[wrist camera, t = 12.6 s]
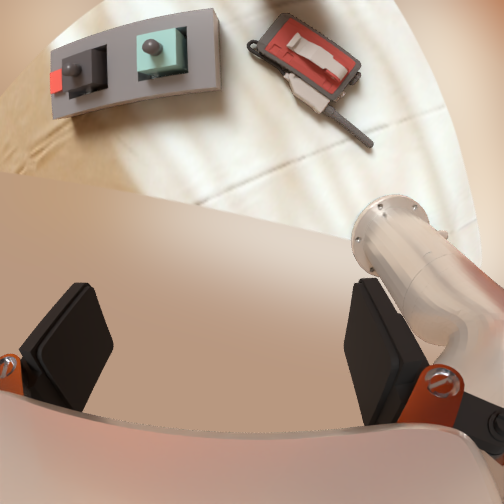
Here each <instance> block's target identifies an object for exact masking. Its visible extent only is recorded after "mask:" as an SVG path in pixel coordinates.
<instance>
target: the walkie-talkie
mask: <svg viewBox="0 0 504 504" xmlns="http://www.w3.org/2000/svg"><path fill="white" fill-rule="evenodd" d="M253 43H255V44H257V50H258V52H256V51H255V50H253V49H252V48H251V47H250V45H251V44H253ZM247 48H248V50H249V51H250V52H251V53H253V54H255V55H257V56H258V57H260V58H262V59H263V60H265V61H267V62H268V63H270V64H271V65H273V66H274V67H276V68H277V69H279V71H280V72H281V74H282V75H283V76H284V77H283V78H285V79H286V80H288V82H289V85H290V87H291V90H292V93H293V95H294V96H296V97H297V98H299V99H300V100H301V101H303V102H304V103H306V104H307V105H308V106H310V107H311V108H312V109H313V111H315V112H316V113H318V114H320V113H321V112H323V113H324V114H326V115H327V116H328V117H331V118H333V119H334V120H335V121H336V122H338V123H339V124H340V125H342V126H343V127H344V128H345V129H347V130H348V131H349V132H350V133H351V134H353V135H354V136H355V137H356V138H358V139H359V140H360V141H361V142H362V143H364V144H365V145H366V146H367V147H369V148H371V147H373V141H372V140H370V139H369V138H368V137H367V136H366V135H365V134H363V133H362V132H361V131H360V130H359V129H357V128H356V127H355V126H354V125H353V124H351V123H350V122H349V121H348V120H346V119H345V118H344V117H343V116H341V115H340V114H339V113H337V112H336V111H335V109H334V108H333V107H332V106H330V105H329V104H328V103H329V101H331V100H332V101H335V102H337V101H338V100H339V99H340V98H339V97H338V96H340V97H341V98H342V97H343V96H344V95H345V92H344V88H345V87H346V86H347V84H348V83H349V84H350V85H354V84H355V83H356V82H357V81H358V80H359V78H360V77H361V73H360V72H357V71H358V70H359V69H360V67H361V63H360V61H358V60H357V59H356V58H354V57H353V56H352V55H351V54H349V53H348V52H347V51H345V50H344V49H343V48H341V47H340V46H339V45H337V44H336V43H334V42H333V41H332V40H329V39H328V38H326V37H325V36H324V35H322V34H321V33H320V32H317V30H314V29H313V28H312V27H310V26H309V25H307V24H305V22H302V21H301V20H299V19H297V17H296V18H295V17H294V16H293V15H290V13H282V14H281V15H280V16H279V17H278V18H277V19H276V20H275V22H274V23H273V24H272V25H271V26H270V28H269V29H268V30H267V31H266V33H265V34H264V35H263V36H262V38H261V39H260V40H259V41H257V40H251V41H249V42H248V43H247ZM283 69H284V71H287V72H288V73H285V72H284V71H283ZM289 73H290V74H289Z"/></svg>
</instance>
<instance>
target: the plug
mask: <svg viewBox="0 0 504 504" xmlns="http://www.w3.org/2000/svg"><path fill="white" fill-rule="evenodd" d="M137 72H140V73H144V74H147V75H151V76H154V77H157V78H158V77H164V76H171V75H178V74H185V73H188V51H187V38H186V37H185V36H184V35H183V34H181V33H180V32H179V31H178V30H177V29H176V28H172V29H167V30H161V31H156V32H151V33H147V34H142V35H138V36H137Z"/></svg>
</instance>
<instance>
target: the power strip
mask: <svg viewBox="0 0 504 504" xmlns="http://www.w3.org/2000/svg"><path fill="white" fill-rule="evenodd" d="M172 28H176V29H177V30H178V31H179V32H180V33H181V34H183V35H184V36H185V37H186V36H187V51H188V73H187V74H179V75H173V76H166V77H160V78H155V79H151V75H147V74H144V73H140V72H137V36H138V35H142V34H147V33H151V32H156V31H161V30H167V29H172ZM107 88H108V89H107ZM103 89H104V90H103ZM99 90H101V91H99ZM219 90H221V73H220V51H219V26H218V18H217V15H216V13H215V11H214V9H213V8H210V9H201V10H194V11H188V12H181V13H176V14H170V15H165V16H160V17H155V18H151V19H146V20H142V21H138V22H134V23H130V24H127V25H123V26H119V27H116V28H113V29H109V30H106V31H103V32H100V33H97V34H94V35H91V36H88V37H85V38H83V39H80V40H77V41H75V42H72V43H69V44H67V45H64V46H62V47H60V48H57V49H55V50H53V51H51V73H50V91H51V97H52V113H53V120H54V119H61V118H69V117H74V116H77V115H81V114H85V113H88V112H92V111H96V110H100V109H104V108H109V107H113V106H118V105H122V104H127V103H132V102H137V101H143V100H148V99H154V98H161V97H167V96H174V95H181V94H189V93H198V92H208V91H219ZM95 91H97V92H95ZM92 92H93V93H92ZM86 93H90V94H86Z"/></svg>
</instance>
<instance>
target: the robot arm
mask: <svg viewBox="0 0 504 504" xmlns="http://www.w3.org/2000/svg"><path fill="white" fill-rule="evenodd" d="M378 204H379V206H378ZM377 206H378V207H377ZM412 206H413V207H412ZM357 237H358V238H357ZM356 238H357V239H356ZM447 238H448V232H447V231H437V230H436V229H434V228H433V227H432V226H431V225H430V224H429V220H428V217H427V214H426V212H425V211H424V209H423V208H422V207H421V206H420V205H419V204H418V203H417V202H416V201H414V200H413V199H411V198H409V197H407V196H403V195H388V196H384V197H381V198H379V199H377V200H375V201H373V202H372V203H370V204H369V205H368V206H367V207H366V208H365V209H364V210H363V211H362V213H361V214H360V215H359V217H358V219H357V220H356V222H355V225H354V228H353V231H352V237H351V245H352V251H353V254H354V256H355V258H356V260H357V262H358V263H359V265H360V266H361V267H362V268H363V269H364V270H365V271H366V272H368V273H369V274H371V275H374V276H377V277H380V278H381V280H382V282H383V283H384V285H385V286H386V288H387V289H388V291H389V292H390V294H391V296H392V298H393V299H394V301H395V303H396V304H397V306H398V308H399V309H400V311H401V313H402V314H403V316H404V318H405V319H406V321H407V323H408V324H409V326H410V328H411V329H412V331H413V332H414V333H415V334H416V335H417V336H418V337H419V338H420V339H422V340H423V341H425V342H427V343H430V344H434V345H438V346H446V348H445V349H444V351H443V352H442V354H441V355H440V356H439V357H438V358H437V359H436V361H435V362H434V363H433V365H429V363H428V361H427V359H426V357H425V356H424V354H423V352H422V350H421V348H420V346H419V344H418V343H417V341H416V339H415V337H414V335H413V334H412V332H411V330H410V328H409V326H408V325H407V323H406V321H405V319H404V318H403V316H402V315H401V314H399V313H397V311H396V310H395V308H394V306H393V304H392V303H391V301H390V299H389V298H388V296H387V294H386V293H385V291H384V289H383V288H382V286H381V284H380V283H379V281H378V279H377V278H362V279H360V280H359V283H355V284H354V286H353V292H352V299H351V306H350V312H349V318H348V324H347V329H346V335H345V340H344V352H345V356H346V359H347V363H348V366H349V370H350V373H351V377H352V381H353V384H354V388H355V392H356V395H357V399H358V403H359V407H360V411H361V414H362V419H363V423H364V425H365V426H360V427H350V428H342V429H331V430H320V431H319V430H318V431H303V432H281V433H233V432H210V431H196V430H184V429H175V428H166V427H158V426H151V425H144V424H138V423H131V422H126V421H120V420H115V419H110V418H104V417H100V416H96V415H91V414H87V413H83V412H82V411H83V409H84V407H85V405H86V403H87V401H88V398H89V396H90V394H91V392H92V390H93V388H94V386H95V384H96V382H97V380H98V378H99V376H100V374H101V372H102V370H103V368H104V366H105V364H106V362H107V360H108V358H109V356H110V354H111V352H112V350H113V340H112V337H111V335H110V332H109V330H108V327H107V324H106V322H105V319H104V316H103V314H102V311H101V308H100V305H99V302H98V299H97V296H96V293H95V290H94V288H93V287H91V286H90V285H89V284H88V283H74V284H73V285H72V286H71V287H70V288H69V289H68V290H67V291H66V293H65V294H64V295H63V296H62V297H61V298H60V299H59V301H58V302H57V303H56V304H55V305H54V307H52V309H51V310H50V311H49V312H48V314H47V315H46V316H45V317H44V318H43V320H42V321H41V322H40V323H39V324H38V326H37V327H36V328H35V329H34V331H33V332H32V333H31V334H30V336H29V337H28V338H27V339H26V341H25V342H24V343H23V345H22V346H21V347H20V348H19V351H20V352H21V354H22V356H23V357H22V359H21V360H20V358H19V357H18V356H17V355H15V354H6V355H3V356H1V357H0V504H504V289H503V288H502V287H501V286H500V285H498V284H497V283H496V282H494V281H493V280H492V279H491V278H490V277H489V276H487V275H486V274H485V273H484V272H483V271H482V270H480V269H479V268H478V267H477V266H476V265H475V264H474V263H473V262H472V261H470V260H469V259H468V258H467V257H466V256H465V255H463V254H462V253H461V252H460V251H459V250H458V249H457V248H456V247H454V246H453V245H452V244H451V243H450V242H449V241H447Z"/></svg>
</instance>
